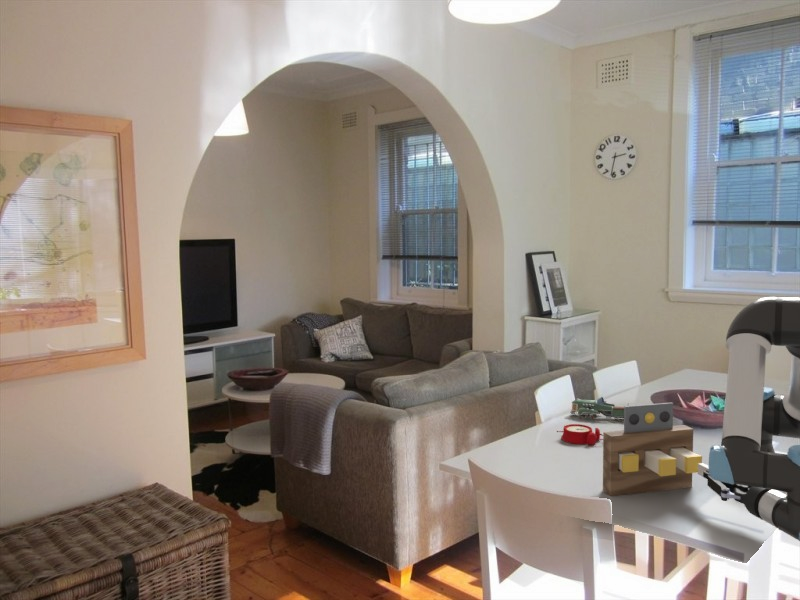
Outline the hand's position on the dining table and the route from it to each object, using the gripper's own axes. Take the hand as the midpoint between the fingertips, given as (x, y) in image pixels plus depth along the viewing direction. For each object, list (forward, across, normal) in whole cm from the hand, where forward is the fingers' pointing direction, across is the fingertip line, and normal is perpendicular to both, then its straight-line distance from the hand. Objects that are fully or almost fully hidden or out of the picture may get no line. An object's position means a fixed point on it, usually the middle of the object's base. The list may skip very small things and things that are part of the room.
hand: (700, 468), depth 167 cm
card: (+11, -7, +7) cm, 15 cm away
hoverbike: (+75, +16, -9) cm, 78 cm away
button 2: (+7, 0, -2) cm, 7 cm away
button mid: (+7, -7, -2) cm, 10 cm away
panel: (+12, -7, -9) cm, 16 cm away
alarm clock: (+54, -4, -9) cm, 55 cm away
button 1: (+12, -15, -2) cm, 19 cm away
